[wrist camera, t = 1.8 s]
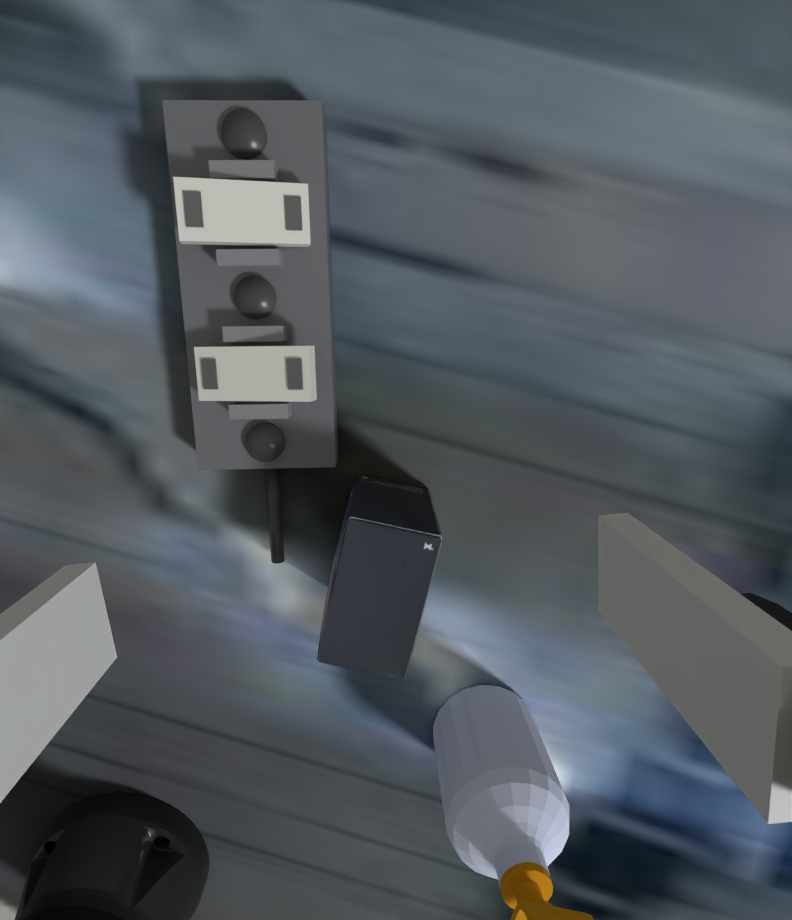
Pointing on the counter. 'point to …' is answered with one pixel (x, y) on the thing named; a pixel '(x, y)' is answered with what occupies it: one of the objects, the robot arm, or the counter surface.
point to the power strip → (258, 286)
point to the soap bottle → (502, 797)
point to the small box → (380, 577)
